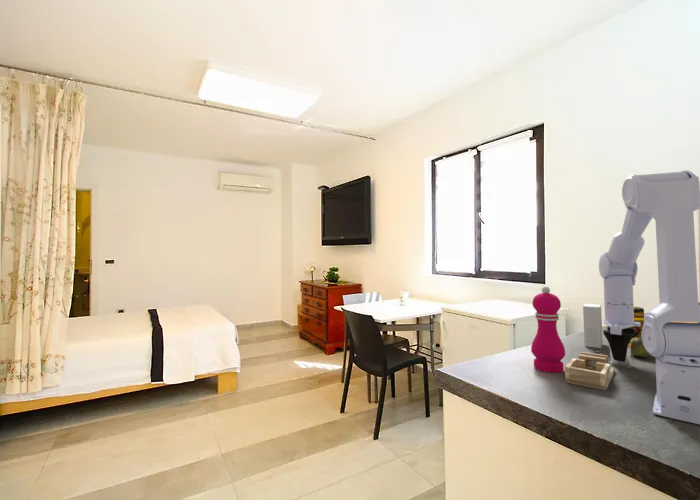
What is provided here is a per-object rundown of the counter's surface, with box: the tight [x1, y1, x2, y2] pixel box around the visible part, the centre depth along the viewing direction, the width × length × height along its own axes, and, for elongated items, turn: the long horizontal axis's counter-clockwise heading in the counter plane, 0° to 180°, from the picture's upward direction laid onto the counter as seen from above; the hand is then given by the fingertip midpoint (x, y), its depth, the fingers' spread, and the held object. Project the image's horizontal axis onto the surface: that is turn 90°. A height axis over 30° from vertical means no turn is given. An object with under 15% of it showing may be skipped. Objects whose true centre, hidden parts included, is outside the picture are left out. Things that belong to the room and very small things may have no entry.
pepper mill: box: [530, 286, 566, 374], centre depth 84 cm, size 7×7×20 cm
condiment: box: [631, 306, 645, 340], centre depth 98 cm, size 7×8×12 cm
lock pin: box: [588, 350, 604, 368], centre depth 82 cm, size 8×2×2 cm, turn 136°
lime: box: [630, 338, 651, 358], centre depth 91 cm, size 4×5×5 cm
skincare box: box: [582, 303, 604, 349], centre depth 103 cm, size 6×4×12 cm
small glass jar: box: [609, 343, 632, 369], centre depth 85 cm, size 4×4×6 cm
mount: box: [564, 351, 616, 391], centre depth 77 cm, size 14×7×4 cm, turn 136°
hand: (620, 358), depth 85 cm, fingers closed on small glass jar, 4 cm apart
